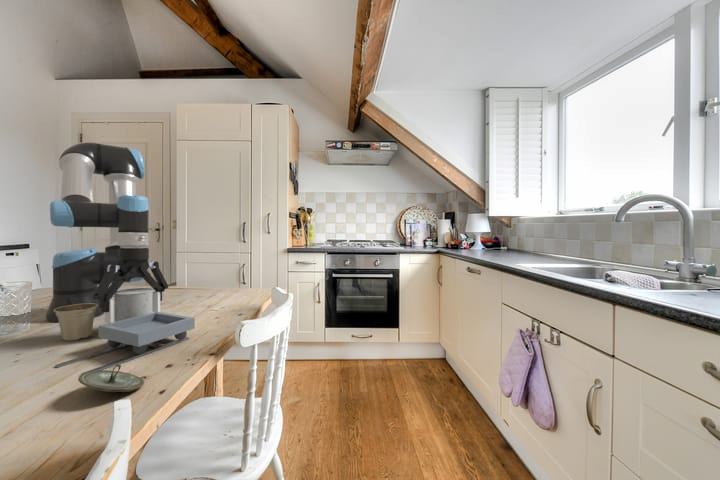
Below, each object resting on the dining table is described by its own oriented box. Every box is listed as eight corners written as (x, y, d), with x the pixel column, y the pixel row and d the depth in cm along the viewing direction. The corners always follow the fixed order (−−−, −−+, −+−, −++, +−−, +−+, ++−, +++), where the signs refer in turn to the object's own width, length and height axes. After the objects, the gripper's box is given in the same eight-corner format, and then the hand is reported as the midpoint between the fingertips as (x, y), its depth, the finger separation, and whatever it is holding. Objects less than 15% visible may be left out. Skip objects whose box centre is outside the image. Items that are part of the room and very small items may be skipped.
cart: (98, 348, 80) (98, 325, 80) (157, 330, 94) (157, 311, 94) (138, 358, 74) (138, 334, 74) (194, 338, 89) (194, 317, 88)
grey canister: (133, 337, 90) (132, 295, 89) (105, 335, 91) (105, 293, 91) (160, 327, 99) (160, 289, 98) (135, 325, 101) (135, 287, 100)
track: (54, 366, 70) (54, 365, 70) (161, 333, 93) (161, 332, 93) (84, 376, 66) (84, 374, 66) (188, 338, 89) (188, 337, 89)
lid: (74, 390, 60) (74, 365, 60) (136, 373, 68) (136, 351, 68) (82, 412, 53) (82, 383, 53) (150, 391, 61) (150, 365, 61)
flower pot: (51, 345, 83) (51, 313, 82) (55, 336, 90) (55, 306, 90) (98, 338, 89) (97, 308, 88) (98, 329, 96) (98, 301, 96)
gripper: (93, 249, 81) (93, 330, 82) (180, 246, 104) (180, 309, 105) (76, 248, 84) (76, 327, 85) (164, 245, 107) (164, 307, 108)
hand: (134, 317), depth 95 cm, fingers open, 13 cm apart
